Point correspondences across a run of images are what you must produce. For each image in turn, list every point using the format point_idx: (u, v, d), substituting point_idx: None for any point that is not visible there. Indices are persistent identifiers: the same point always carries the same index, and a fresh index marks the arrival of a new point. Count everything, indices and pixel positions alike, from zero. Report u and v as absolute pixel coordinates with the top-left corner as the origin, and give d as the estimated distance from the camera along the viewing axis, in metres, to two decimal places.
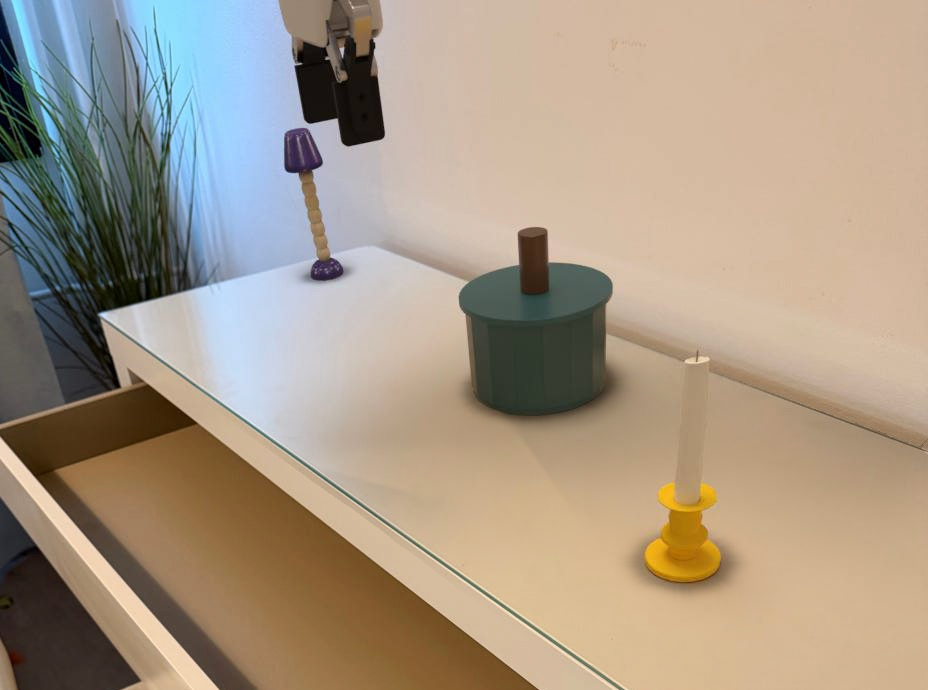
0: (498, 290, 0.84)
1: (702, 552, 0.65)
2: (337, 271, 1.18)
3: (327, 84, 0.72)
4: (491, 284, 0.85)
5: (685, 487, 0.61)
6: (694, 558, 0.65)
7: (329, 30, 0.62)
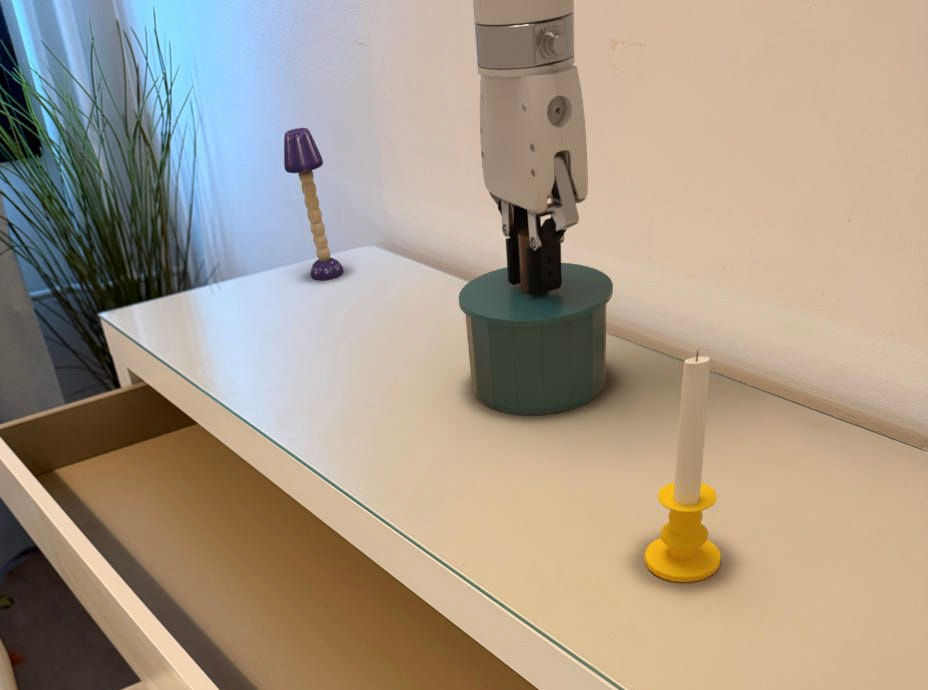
0: (498, 290, 0.84)
1: (702, 552, 0.65)
2: (337, 271, 1.18)
3: None
4: (491, 284, 0.85)
5: (685, 487, 0.61)
6: (694, 558, 0.65)
7: None
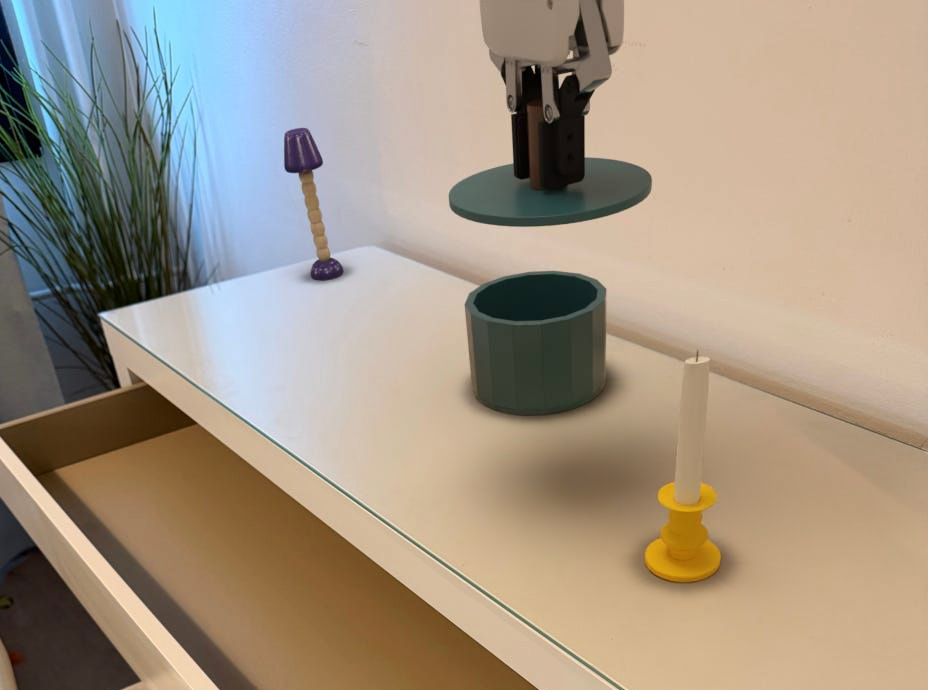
0: (500, 187, 0.64)
1: (702, 552, 0.65)
2: (337, 271, 1.18)
3: None
4: (491, 181, 0.65)
5: (685, 487, 0.61)
6: (694, 558, 0.65)
7: None
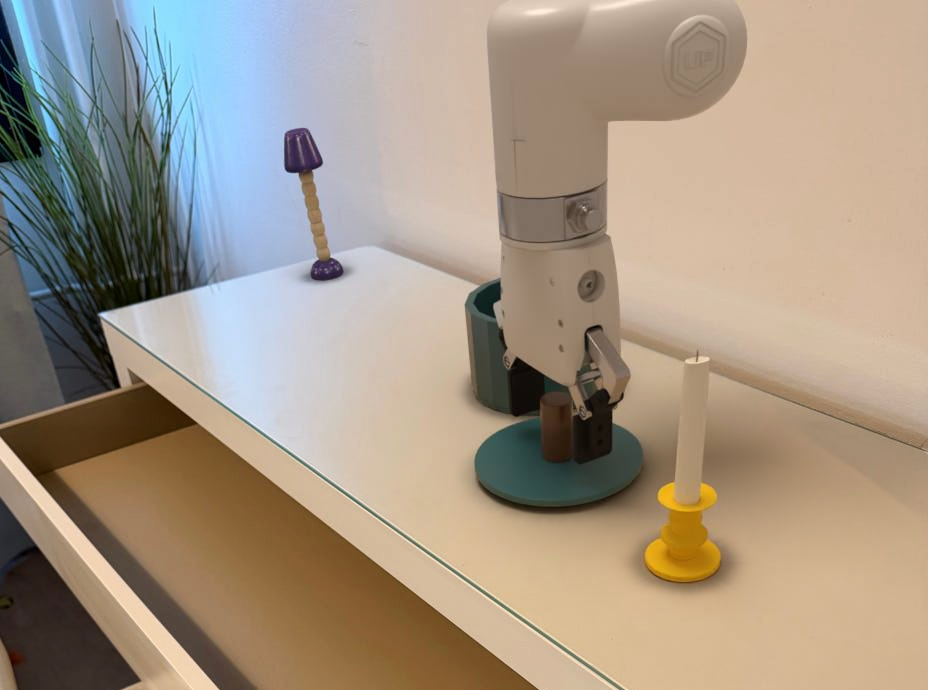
0: (517, 454, 0.77)
1: (702, 552, 0.65)
2: (337, 271, 1.18)
3: (535, 384, 0.77)
4: (509, 445, 0.78)
5: (685, 487, 0.61)
6: (694, 558, 0.65)
7: (575, 375, 0.67)
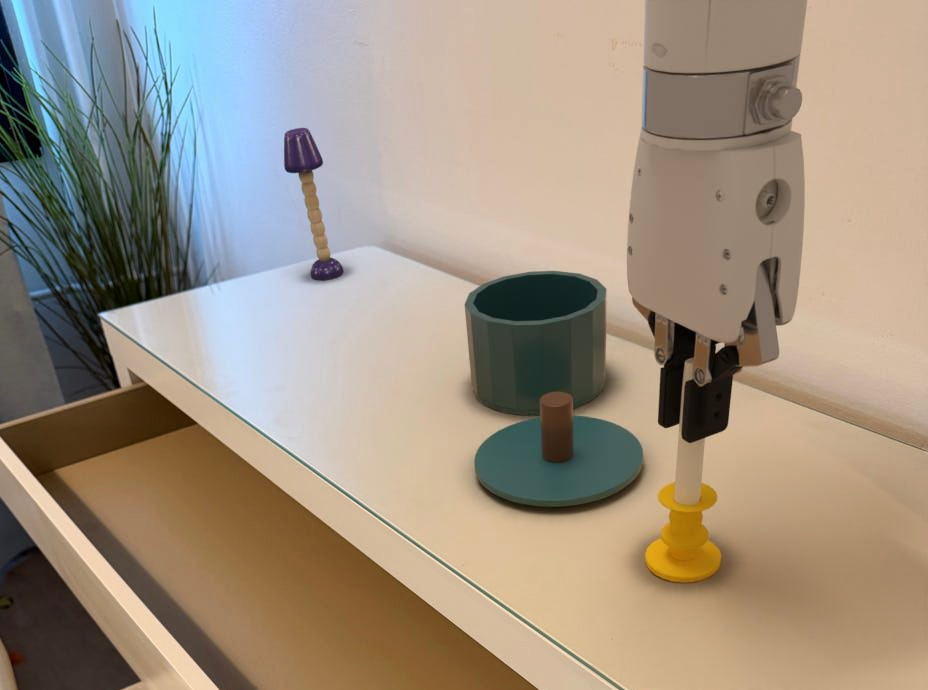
0: (517, 454, 0.77)
1: (702, 553, 0.65)
2: (337, 271, 1.18)
3: None
4: (509, 445, 0.78)
5: (685, 487, 0.61)
6: (694, 558, 0.65)
7: None
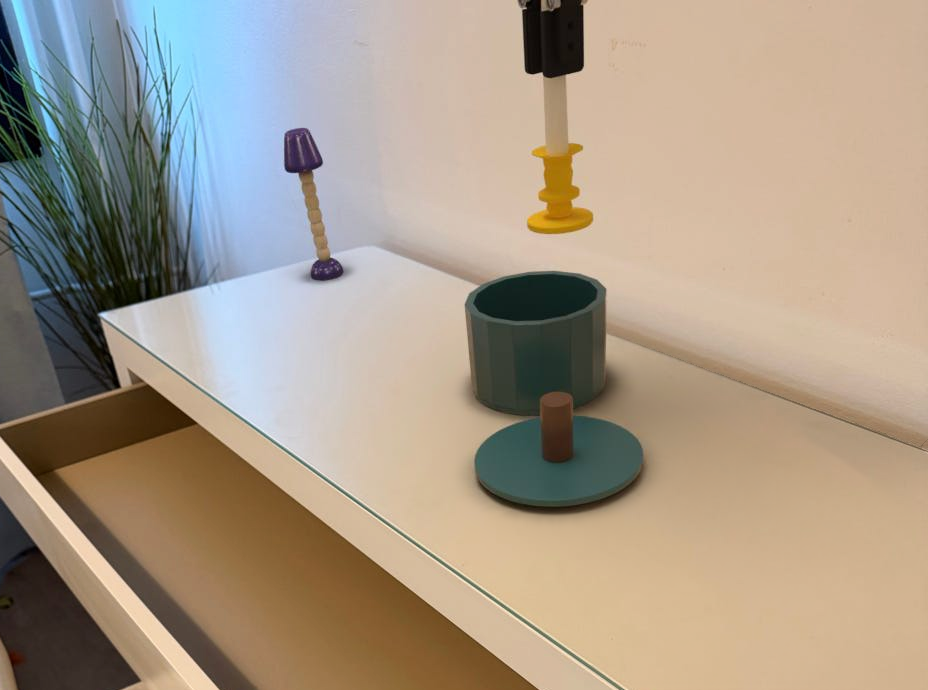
0: (517, 454, 0.77)
1: (576, 214, 0.73)
2: (337, 271, 1.18)
3: None
4: (509, 445, 0.78)
5: (553, 136, 0.69)
6: (569, 217, 0.73)
7: None
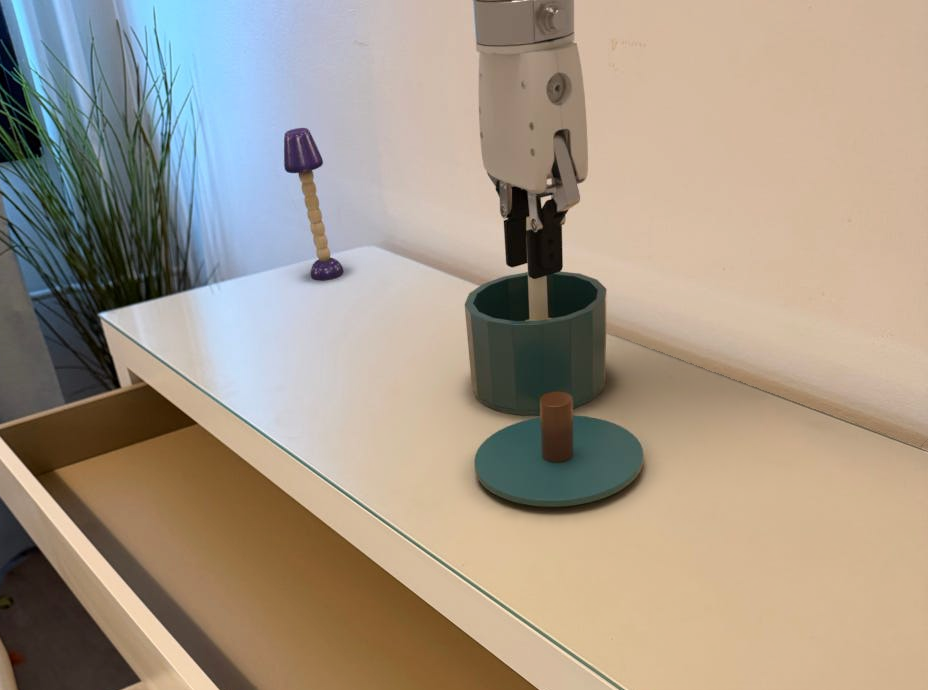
0: (517, 454, 0.77)
1: None
2: (337, 271, 1.18)
3: None
4: (509, 445, 0.78)
5: (535, 317, 0.84)
6: None
7: None
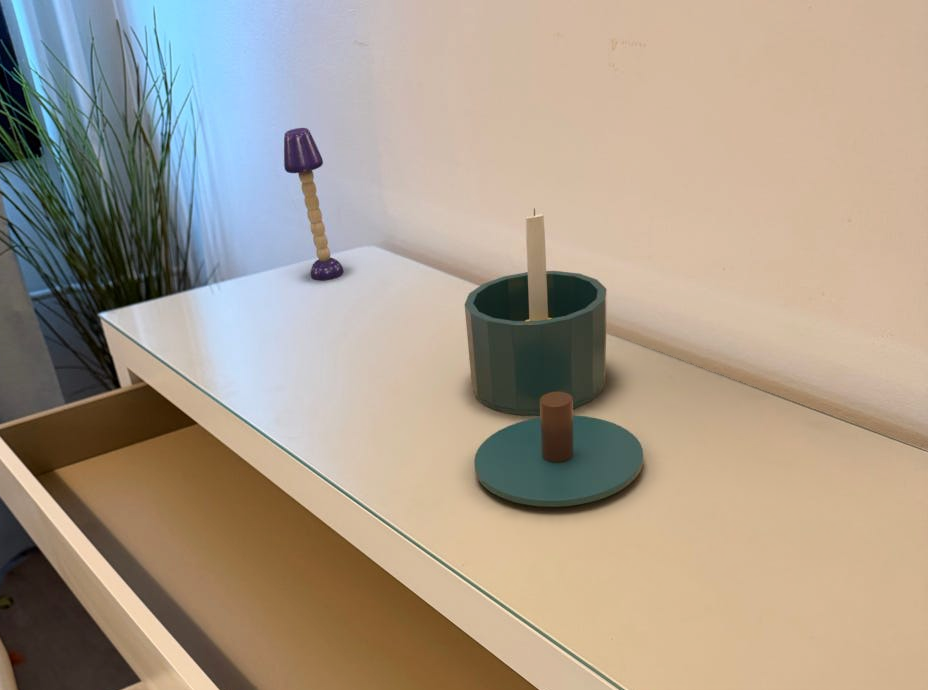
0: (517, 454, 0.77)
1: None
2: (337, 271, 1.18)
3: None
4: (509, 445, 0.78)
5: (535, 317, 0.84)
6: None
7: None
